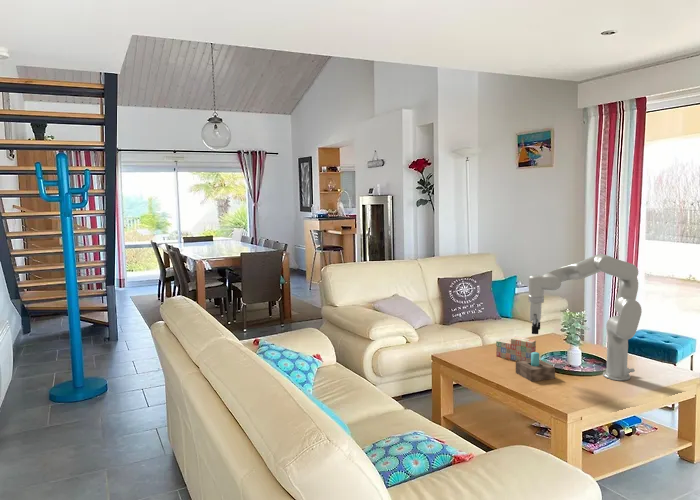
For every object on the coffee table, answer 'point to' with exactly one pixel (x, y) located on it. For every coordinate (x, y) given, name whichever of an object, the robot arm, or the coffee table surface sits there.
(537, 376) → the socket block
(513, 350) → the stack of blocks
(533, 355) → the peg
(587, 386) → the coffee table surface
